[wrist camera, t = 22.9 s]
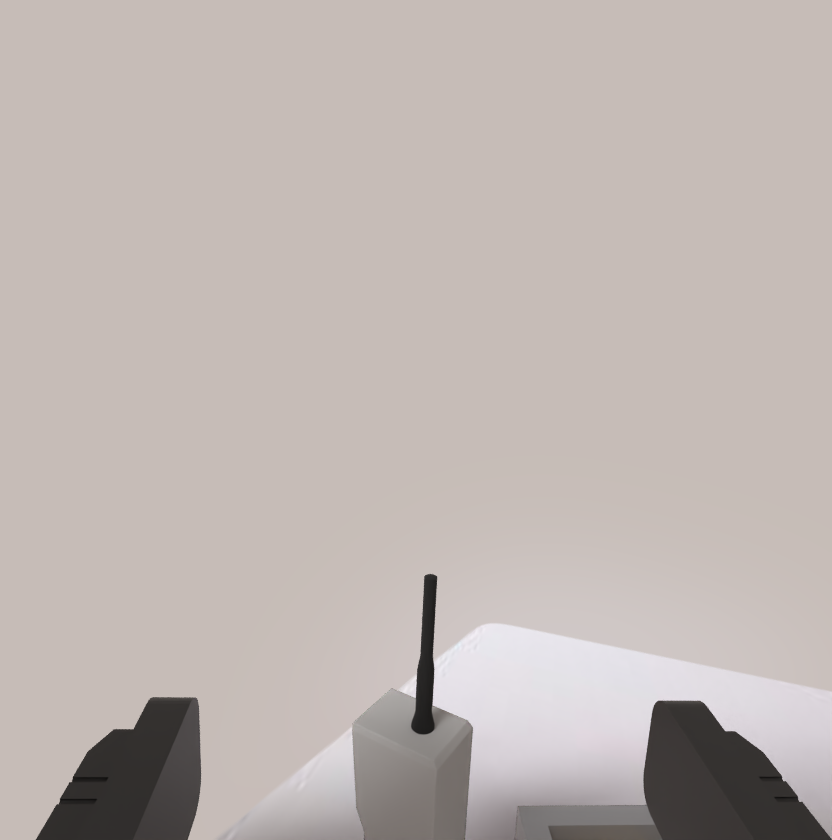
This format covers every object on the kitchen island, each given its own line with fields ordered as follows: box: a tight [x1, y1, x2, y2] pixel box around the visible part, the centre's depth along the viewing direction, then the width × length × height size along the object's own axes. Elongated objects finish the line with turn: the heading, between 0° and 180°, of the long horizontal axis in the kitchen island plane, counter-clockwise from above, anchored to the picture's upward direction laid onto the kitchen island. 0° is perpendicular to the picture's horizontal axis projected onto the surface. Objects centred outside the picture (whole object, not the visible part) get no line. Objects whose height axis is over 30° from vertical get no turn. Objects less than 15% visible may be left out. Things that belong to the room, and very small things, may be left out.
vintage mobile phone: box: [352, 574, 473, 840], centre depth 35 cm, size 4×5×25 cm
